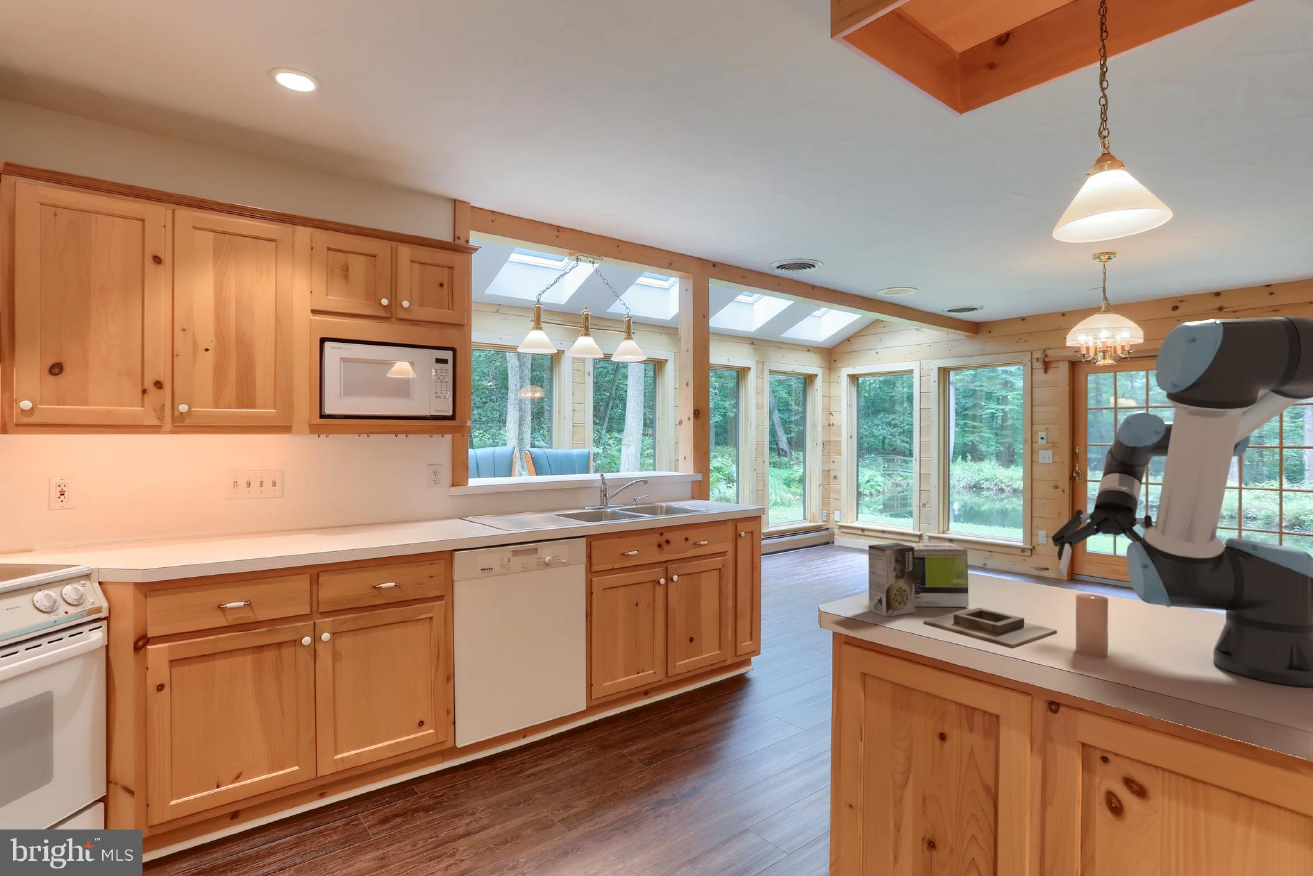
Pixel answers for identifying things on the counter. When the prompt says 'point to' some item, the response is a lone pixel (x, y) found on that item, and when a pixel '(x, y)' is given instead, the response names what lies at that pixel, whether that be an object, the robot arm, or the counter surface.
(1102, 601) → the tall mauve pillar
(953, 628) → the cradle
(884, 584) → the coffee box
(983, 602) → the counter surface
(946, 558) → the tea box
